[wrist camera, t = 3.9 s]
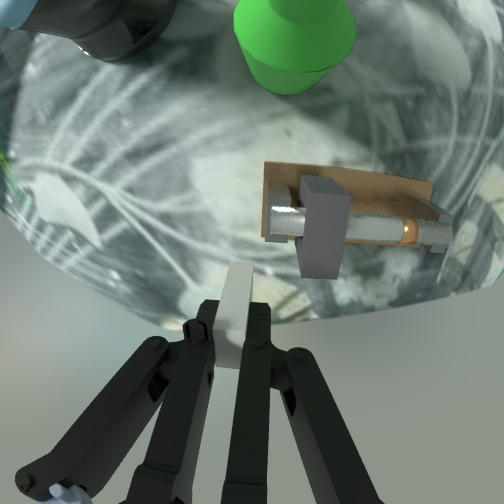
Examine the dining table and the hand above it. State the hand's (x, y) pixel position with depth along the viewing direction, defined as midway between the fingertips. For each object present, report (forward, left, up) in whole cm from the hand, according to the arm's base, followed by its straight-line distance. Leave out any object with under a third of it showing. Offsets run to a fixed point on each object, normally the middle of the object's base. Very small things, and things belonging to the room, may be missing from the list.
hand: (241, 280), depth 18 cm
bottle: (+3, +18, -20) cm, 27 cm away
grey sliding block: (+7, 0, -16) cm, 17 cm away
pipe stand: (+13, 0, -19) cm, 23 cm away
